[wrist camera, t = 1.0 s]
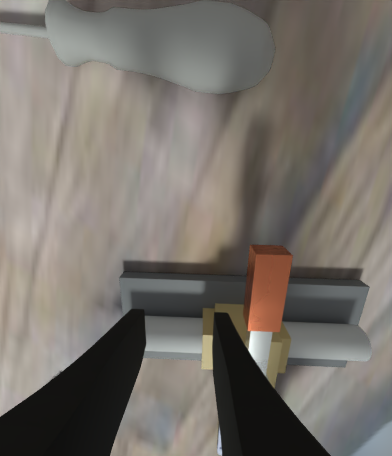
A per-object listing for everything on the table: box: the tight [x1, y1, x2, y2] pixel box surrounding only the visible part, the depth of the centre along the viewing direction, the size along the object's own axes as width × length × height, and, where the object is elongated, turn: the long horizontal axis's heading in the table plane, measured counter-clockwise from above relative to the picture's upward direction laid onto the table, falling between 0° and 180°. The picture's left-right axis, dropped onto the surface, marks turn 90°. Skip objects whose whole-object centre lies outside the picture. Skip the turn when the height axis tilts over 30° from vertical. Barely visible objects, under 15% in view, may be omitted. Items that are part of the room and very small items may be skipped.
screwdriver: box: [0, 0, 275, 94], centre depth 14 cm, size 5×25×4 cm, turn 81°
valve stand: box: [119, 272, 372, 388], centre depth 18 cm, size 10×24×6 cm, turn 89°
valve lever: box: [243, 245, 293, 381], centre depth 13 cm, size 12×3×2 cm, turn 179°
